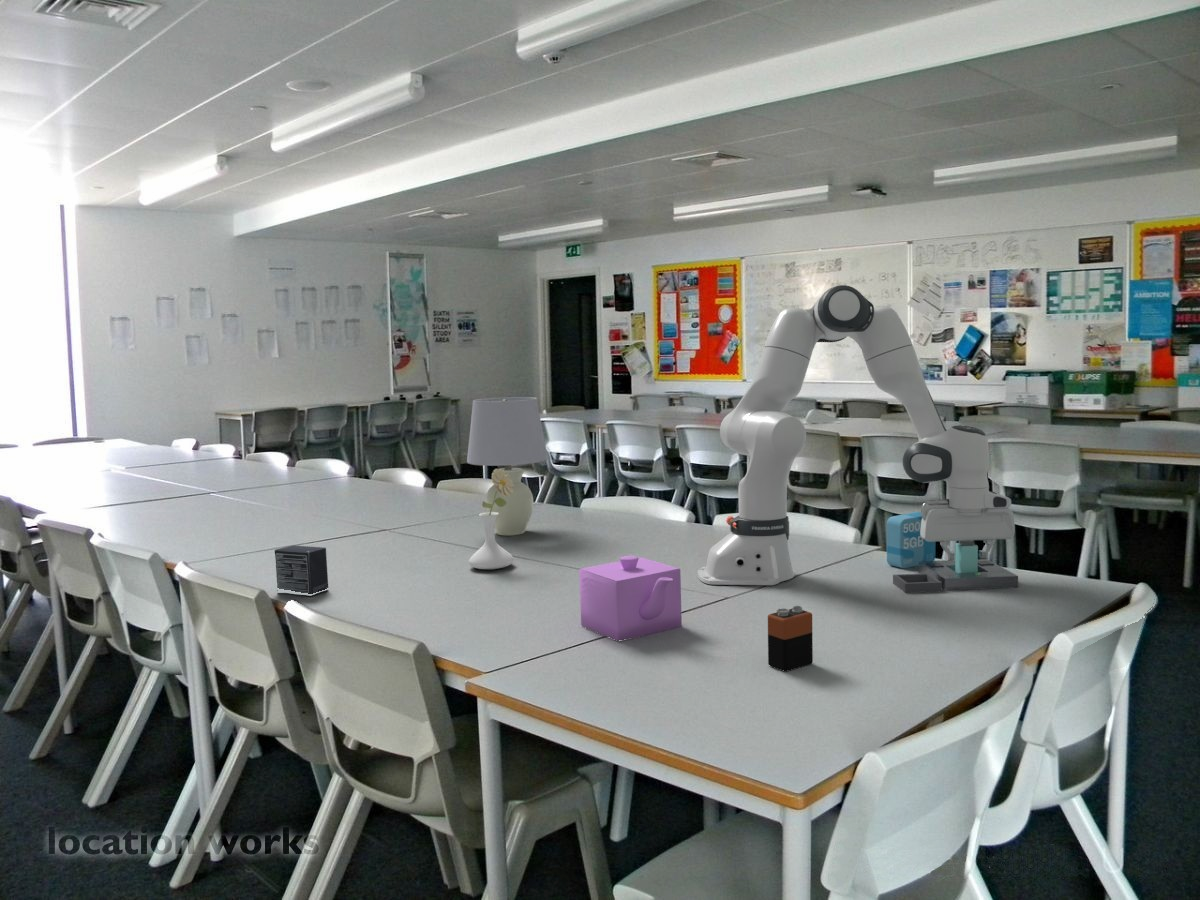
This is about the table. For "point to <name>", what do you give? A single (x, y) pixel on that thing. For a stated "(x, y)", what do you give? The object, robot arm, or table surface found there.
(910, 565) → the data package
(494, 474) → the flower in vase
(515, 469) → the lamp
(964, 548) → the aqua plug
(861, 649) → the table surface
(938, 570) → the panel
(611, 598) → the teapot
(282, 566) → the small box
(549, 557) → the table surface
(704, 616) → the table surface
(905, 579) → the tray
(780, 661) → the battery
